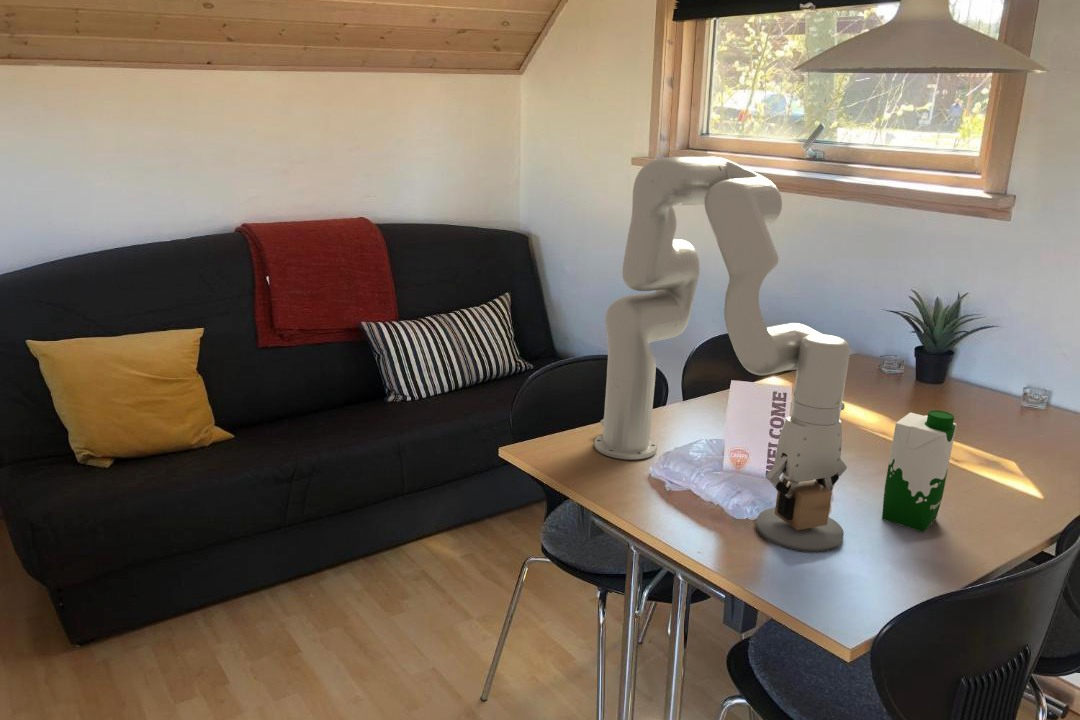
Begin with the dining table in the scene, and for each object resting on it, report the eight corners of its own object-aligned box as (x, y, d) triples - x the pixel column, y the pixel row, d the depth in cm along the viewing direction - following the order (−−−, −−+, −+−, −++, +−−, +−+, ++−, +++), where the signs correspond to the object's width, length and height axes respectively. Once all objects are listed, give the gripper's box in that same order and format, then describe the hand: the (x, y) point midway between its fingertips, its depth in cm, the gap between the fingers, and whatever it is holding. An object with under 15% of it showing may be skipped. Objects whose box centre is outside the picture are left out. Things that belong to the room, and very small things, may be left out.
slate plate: (739, 519, 153) (740, 513, 152) (805, 508, 158) (806, 502, 158) (791, 558, 141) (792, 551, 140) (861, 545, 146) (862, 538, 146)
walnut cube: (774, 514, 150) (778, 481, 148) (803, 509, 152) (808, 476, 151) (797, 530, 145) (802, 496, 143) (826, 524, 147) (832, 491, 145)
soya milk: (927, 536, 150) (948, 424, 144) (873, 518, 155) (891, 410, 150) (942, 519, 157) (963, 411, 151) (890, 503, 162) (909, 398, 156)
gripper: (842, 399, 150) (827, 497, 155) (757, 409, 143) (744, 511, 148) (874, 414, 143) (857, 516, 148) (786, 425, 137) (772, 531, 142)
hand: (801, 512), depth 148 cm, fingers closed on walnut cube, 6 cm apart
